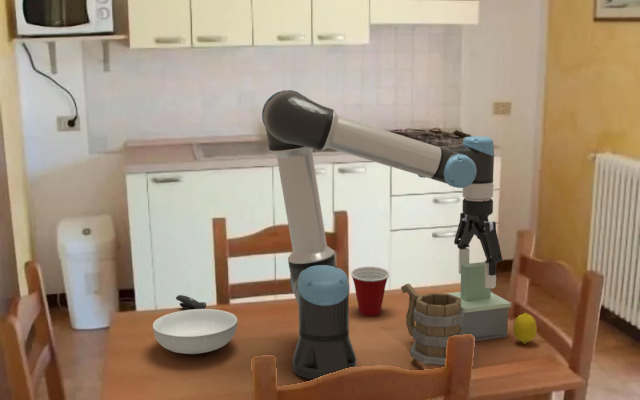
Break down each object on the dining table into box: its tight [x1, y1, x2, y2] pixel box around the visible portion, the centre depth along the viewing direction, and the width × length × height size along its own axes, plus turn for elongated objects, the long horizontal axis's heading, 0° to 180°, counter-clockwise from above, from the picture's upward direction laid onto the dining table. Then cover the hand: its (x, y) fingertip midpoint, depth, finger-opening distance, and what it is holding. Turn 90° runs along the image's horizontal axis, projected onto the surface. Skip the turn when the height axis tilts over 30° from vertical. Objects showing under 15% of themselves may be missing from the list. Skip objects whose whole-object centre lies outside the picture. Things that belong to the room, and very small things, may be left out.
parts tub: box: [461, 307, 509, 342], centre depth 201 cm, size 12×12×8 cm
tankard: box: [400, 283, 464, 367], centre depth 188 cm, size 20×13×15 cm, turn 30°
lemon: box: [513, 312, 538, 345], centre depth 192 cm, size 6×6×8 cm
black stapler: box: [175, 294, 207, 311], centre depth 218 cm, size 18×7×6 cm, turn 27°
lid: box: [444, 261, 512, 313], centre depth 199 cm, size 13×13×11 cm
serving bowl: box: [152, 308, 239, 355], centre depth 193 cm, size 21×21×7 cm
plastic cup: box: [350, 266, 390, 317], centre depth 216 cm, size 11×11×12 cm
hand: (476, 279), depth 199 cm, fingers open, 13 cm apart
